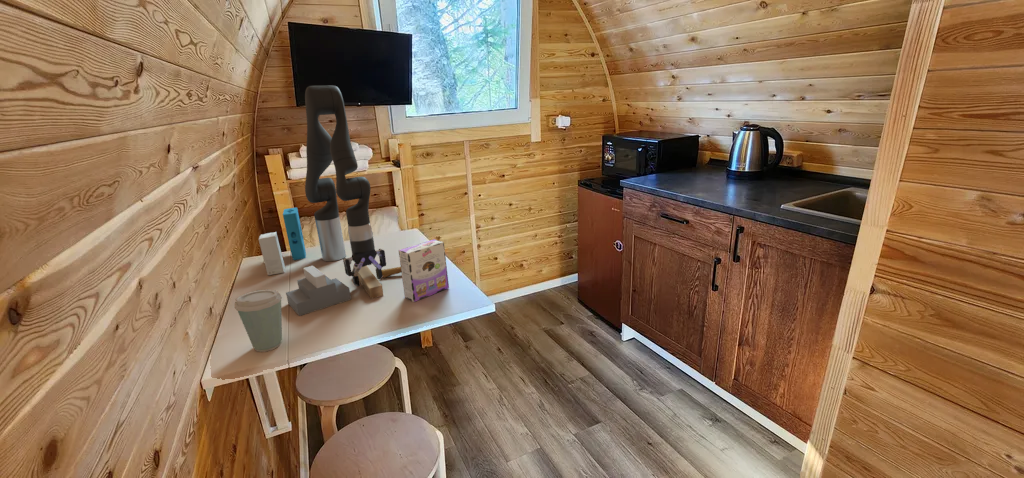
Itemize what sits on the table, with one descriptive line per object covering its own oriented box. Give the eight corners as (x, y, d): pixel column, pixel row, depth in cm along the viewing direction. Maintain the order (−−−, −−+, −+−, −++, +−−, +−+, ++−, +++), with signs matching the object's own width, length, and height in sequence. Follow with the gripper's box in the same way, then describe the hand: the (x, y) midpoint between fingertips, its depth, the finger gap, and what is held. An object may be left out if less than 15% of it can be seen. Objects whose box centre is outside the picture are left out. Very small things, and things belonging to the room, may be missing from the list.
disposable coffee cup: (261, 336, 122) (249, 286, 117) (299, 335, 121) (288, 284, 117) (237, 357, 112) (222, 303, 107) (278, 356, 111) (265, 302, 107)
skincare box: (284, 273, 170) (276, 236, 165) (266, 276, 167) (257, 238, 163) (285, 266, 177) (277, 230, 172) (268, 269, 175) (259, 233, 170)
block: (305, 259, 184) (296, 213, 178) (292, 261, 182) (282, 214, 176) (306, 251, 194) (297, 207, 188) (293, 253, 193) (284, 209, 187)
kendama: (383, 285, 156) (433, 272, 159) (379, 268, 155) (429, 255, 158) (385, 281, 164) (433, 268, 166) (381, 265, 163) (429, 252, 165)
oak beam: (371, 299, 142) (369, 288, 141) (356, 277, 162) (354, 266, 161) (383, 296, 144) (381, 285, 143) (367, 274, 164) (365, 264, 163)
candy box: (439, 284, 151) (434, 238, 146) (449, 288, 147) (444, 241, 142) (404, 297, 142) (397, 249, 137) (414, 302, 138) (407, 252, 133)
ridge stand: (288, 303, 142) (281, 273, 139) (338, 289, 151) (332, 260, 148) (299, 315, 133) (292, 283, 130) (351, 299, 143) (345, 269, 139)
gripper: (376, 230, 155) (383, 273, 160) (335, 239, 146) (344, 285, 151) (386, 234, 150) (392, 279, 154) (344, 244, 141) (352, 291, 146)
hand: (368, 282), depth 153 cm, fingers open, 7 cm apart
